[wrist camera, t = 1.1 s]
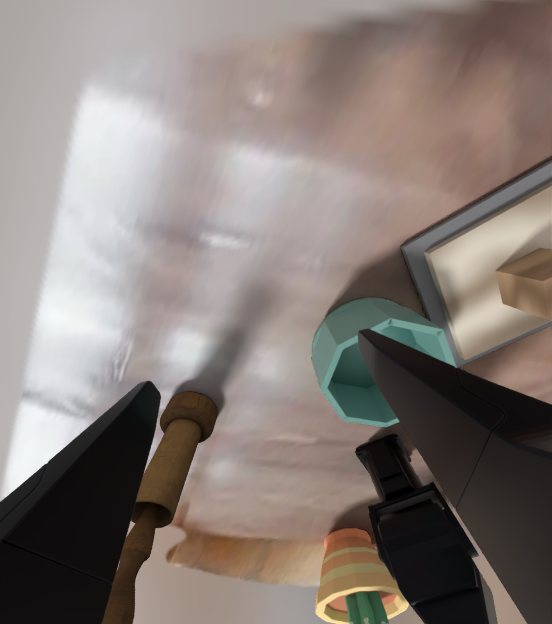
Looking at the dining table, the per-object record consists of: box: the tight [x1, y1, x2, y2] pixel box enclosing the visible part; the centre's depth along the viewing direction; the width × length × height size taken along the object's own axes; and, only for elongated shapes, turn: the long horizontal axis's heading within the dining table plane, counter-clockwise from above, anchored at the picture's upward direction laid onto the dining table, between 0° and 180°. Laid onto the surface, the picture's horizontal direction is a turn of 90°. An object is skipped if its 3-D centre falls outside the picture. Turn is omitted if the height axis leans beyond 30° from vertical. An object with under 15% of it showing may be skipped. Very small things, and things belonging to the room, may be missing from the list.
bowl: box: [311, 297, 457, 427], centre depth 23 cm, size 12×12×6 cm
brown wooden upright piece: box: [102, 392, 217, 624], centre depth 21 cm, size 7×6×18 cm
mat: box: [401, 160, 552, 367], centre depth 23 cm, size 17×17×1 cm
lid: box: [424, 181, 552, 360], centre depth 20 cm, size 14×14×5 cm
